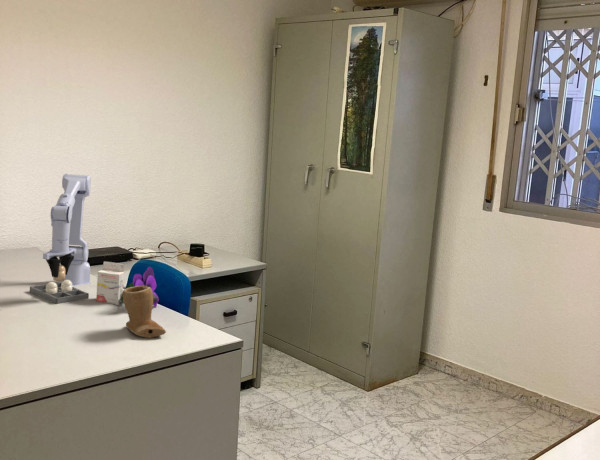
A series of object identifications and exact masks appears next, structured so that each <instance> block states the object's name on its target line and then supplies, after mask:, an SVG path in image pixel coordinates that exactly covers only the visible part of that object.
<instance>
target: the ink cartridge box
mask: <svg viewBox="0 0 600 460" xmlns="http://www.w3.org/2000/svg"><path fill="white" fill-rule="evenodd" d="M115 266H116V267H115ZM102 268H103V269H100V270H99V271H97V277H96V279H97V280H96V283H97V284H96V296H95V297H96V300H95V301H96V302H99V303H107V304H112V305H113V306H119V305H120V304H121V303H122V302H121V300H120V298H121V296H122V293H123V290H124V283H125V281H124V280H125V265H124V263H118V262H114V261H113V262H112V261H103V267H102Z"/></svg>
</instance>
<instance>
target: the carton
mask: <svg viewBox="0 0 600 460" xmlns="http://www.w3.org/2000/svg"><path fill="white" fill-rule="evenodd" d="M55 283H56V284H57V293H52V294H47V293H46V285H47V284H48V283H46V284H39V285H38V284H37V285H32V286H29V292H30V293H31V294H34V295H36V296H37V297H39V298H42V299H44V300H46V301H49V302H51V303H53V304H55V305H58V304H60V305H61V304H66V303H71V302H76V301H77V302H78V301H83V300H84V301H85V300H89V297H90V296H89V295H90V293H89V292H86V291H85V290H81V289H79V288H77V287H75V286H72V290H71V291H65V292H64V291H61V283H62V281H58V282H55Z"/></svg>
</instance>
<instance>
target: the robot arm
mask: <svg viewBox="0 0 600 460" xmlns="http://www.w3.org/2000/svg"><path fill="white" fill-rule="evenodd" d="M61 180H62V181H61V185H62V187H61V188H62V189H63V191H64V192H63V193H61V194H60V195H59V197H58V200H57V202H56V203H55V205H54V206H51V209H50V222H51V223H50V224H51V225H50V226H51V227H52V229H51V230H52V233H51V248H50V249H49V251H47V252H44V253H42V259H43V260H45V261H46V263H47V264H48V268H49V270H50V273H51V277H52V278H53V277H56V278H57V277H58V273H59V266H60V265H63V266H64V267H65V280H70V281H71V282H72V287H77V286H83V285H91V284H92V283H91V267H90V263H89V262H88V260H89V259H88V258H89V244H88V242H87V241H86V240H85V239H83V238H82V237H83V235H82V232H83V218H84V205H85V200H86V198H87V197H89V196H90V194H91V184H92V181H91V180H92V179H91V177H90V175H88V174H87V175H85V174H84V175H83V174H82V175H81V174H70V173H69V174H68V173H64V174H63V176H62V179H61ZM61 282H63V281H61Z"/></svg>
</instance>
